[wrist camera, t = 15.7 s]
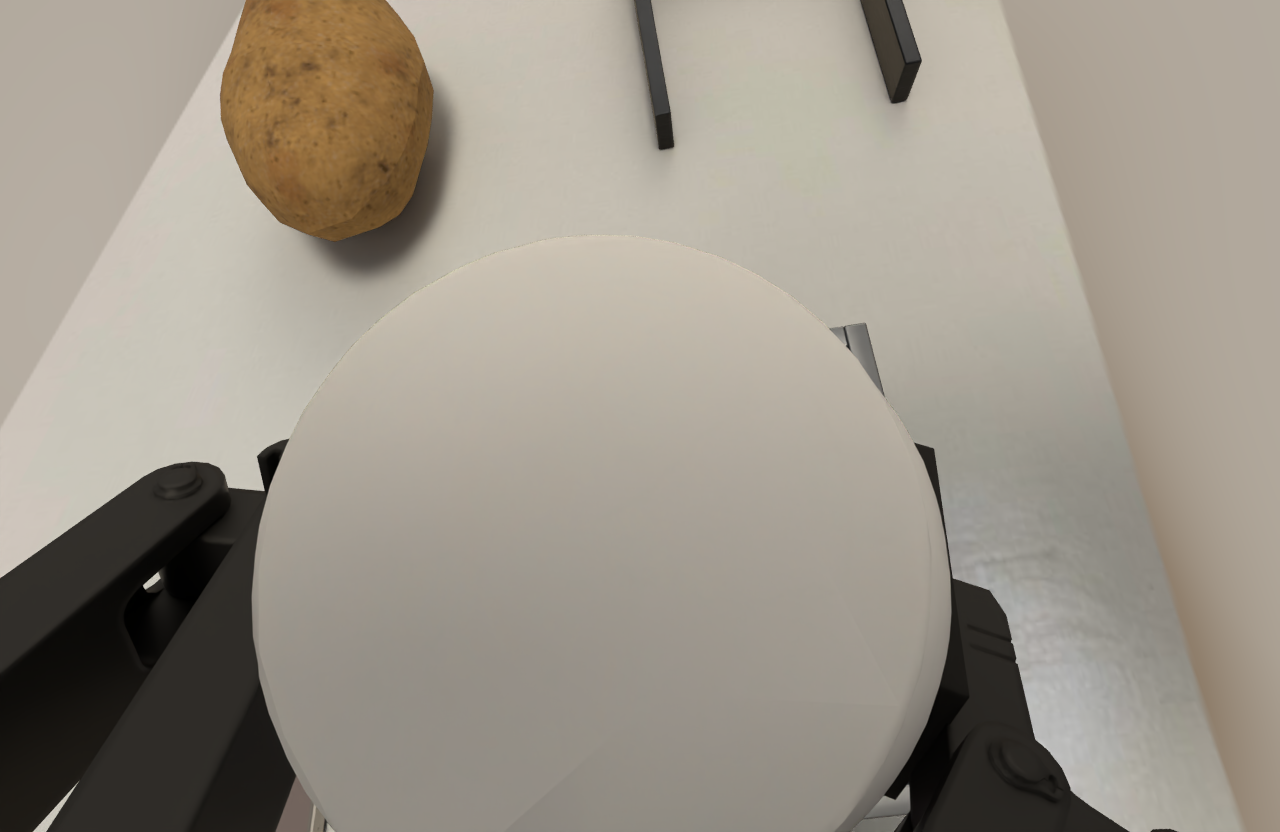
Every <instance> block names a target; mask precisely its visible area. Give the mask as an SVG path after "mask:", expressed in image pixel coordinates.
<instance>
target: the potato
mask: <svg viewBox="0 0 1280 832" xmlns="http://www.w3.org/2000/svg"><path fill="white" fill-rule="evenodd" d="M433 91H434V90H433V87H432V84H431V81H430V78H429V75H428V72H427V69H426V66H425V63H424V60H423V58H422V55H421V53H420V50H419V48H418V45H417V43H416V40H415V38H414V36H413V34H412V33H411V32H410V30H409V29H408V28H407V26H406V25H405V24H404V22H403V21H402V20H401V18H400V17H399V15H398V14H397V13H396V12H395V11H394V10H393V8H392V7H391V6H390V5H389V4H388V2H387V1H386V0H246V2H245V5H244V9H243V12H242V15H241V18H240V22H239V25H238V29H237V33H236V37H235V40H234V44H233V48H232V51H231V54H230V57H229V59H228V62H227V65H226V67H225V70H224V72H223V78H222V85H221V93H220V103H221V121H222V124H223V128H224V131H225V135H226V138H227V141H228V143H229V145H230V147H231V150H232V152H233V154H234V156H235V159H236V161H237V163H238V165H239V168H240V170H241V172H242V175H243V177H244V179H245V181H246V184H247V185H248V186H249V188H250V189H251V190H252V191H253V192H254V194H255V195H256V196H257V197H258V198H259V200H260V201H261V202H262V203H263V204H264V205H265V206H266V208H267V209H268V210H269V211H270V212H271V213H272V214H273V215H274V216H275V218H276V219H277V220H278V221H279V222H280V223H282V224H285V225H287V226H289V227H292V228H294V229H296V230H299V231H301V232H304V233H306V234H308V235H312V236H315V237H319V238H323V239H326V240H330V241H334V242H336V241H339V240H342V239H345V238H348V237H351V236H354V235H357V234H360V233H363V232H366V231H369V230H373V229H376V228H379V227H381V226H382V225H384V224H385V223H387V222H388V221H390V220H392V219H393V218H395V217H396V216H398V215H400V213H401V212H402V210H403V209H404V207H405V206H406V205H407V203H408V202H409V200H410V199H411V197H412V196H413V192H414V189H415V186H416V182H417V179H418V175H419V172H420V169H421V165H422V162H423V158H424V155H425V152H426V148H427V145H428V139H429V132H430V126H431V120H432V107H433Z"/></svg>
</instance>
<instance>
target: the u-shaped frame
mask: <svg viewBox="0 0 1280 832" xmlns="http://www.w3.org/2000/svg"><path fill="white" fill-rule="evenodd" d="M861 2H862V5H863V9H864V12H865V15H866V19H867V22H868V25H869V29H870V32H871V35H872V38H873V42H874V45H875V48H876V52H877V55H878V58H879V62H880V65H881V68H882V71H883V75H884V78H885V81H886V85H887V88H888V91H889V95H890V98H891V101H892V102H898V101H903V100H907V98H908V96H909V93H910V90H911V88H912V85H913V83H914V80H915V77H916V75H917V72H918V70H919V67H920V64H921V62H922V59H921V56H920V53H919V50H918V47H917V44H916V41H915V38H914V35H913V32H912V29H911V26H910V23H909V20H908V17H907V14H906V11H905V7H904V4H903V1H902V0H861ZM634 4H635V10H636V16H637V22H638V27H639V33H640V39H641V45H642V51H643V57H644V63H645V69H646V75H647V80H648V86H649V92H650V98H651V104H652V110H653V116H654V122H655V128H656V134H657V139H658V145H659V149H665V148H670V147H674V140H673V130H672V121H671V112H670V106H669V101H668V95H667V89H666V84H665V78H664V73H663V67H662V62H661V56H660V50H659V45H658V39H657V34H656V28H655V22H654V17H653V11H652V6H651V0H634Z"/></svg>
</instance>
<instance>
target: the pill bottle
mask: <svg viewBox="0 0 1280 832" xmlns="http://www.w3.org/2000/svg"><path fill="white" fill-rule="evenodd" d="M252 623H253V639H254V645H255V650H256V655H257V661H258V669H259V679H260V683H261V686H262V690H263V694H264V697H265V701H266V705H267V709H268V712H269V715H270V718H271V720H272V722H273V725H274V727H275V730H276V732H277V735H278V737H279V739H280V742H281V744H282V747H283V749H284V752H285V754H286V757H287V759H288V761H289V762H290V764H291V766H292V768H293V770H294V772H295V774H296V775H297V777H298V779H299V781H300V783H301V785H302V787H303V789H304V790H305V792H306V794H307V795H308V796H309V798H310V799H311V800H312V802H313V803H314V804H315V806H316V807H317V808H318V810H319V811H320V812H321V814H322V815H323V817H324V818H325V819H326V821H327V822H328V823H329V825H330V826H331V827H332V829H333V830H334V831H335V832H850V831H851V830H852V829H853V828H854V827H855V826H856V825H857V824H858V823H859V822H860V821H861V820H862V819H863V818H864V817H865V816H866V815H867V814H868V813H869V812H870V811H871V810H872V809H873V808H874V806H875V805H876V804H877V803H878V802H879V801H880V800H881V798H882V797H883V796H884V794H885V793H886V791H887V790H888V789H889V787H890V786H891V785H892V783H893V782H894V781H895V779H896V778H897V776H898V774H899V773H900V771H901V770H902V768H903V767H904V765H905V764H906V762H907V761H908V759H909V757H910V756H911V754H912V752H913V750H914V748H915V746H916V744H917V742H918V740H919V738H920V736H921V734H922V732H923V730H924V728H925V726H926V724H927V721H928V718H929V715H930V713H931V710H932V707H933V704H934V701H935V698H936V695H937V692H938V689H939V686H940V682H941V678H942V673H943V669H944V665H945V661H946V656H947V650H948V644H949V638H950V625H951V584H950V570H949V562H948V555H947V548H946V540H945V534H944V529H943V524H942V519H941V514H940V510H939V506H938V503H937V499H936V495H935V492H934V490H933V487H932V484H931V481H930V478H929V475H928V473H927V470H926V467H925V464H924V461H923V459H922V458H921V456H920V454H919V452H918V450H917V448H916V446H915V444H914V442H913V441H912V439H911V437H910V435H909V433H908V431H907V430H906V428H905V426H904V425H903V423H902V421H901V420H900V418H899V417H898V415H897V413H896V412H895V410H894V409H893V408H892V407H891V405H890V404H889V403H888V401H887V400H886V399H885V397H884V396H883V395H882V393H881V392H880V391H879V389H878V388H877V387H876V385H875V384H874V383H873V381H872V380H871V378H870V377H869V376H868V374H867V373H866V371H865V370H864V368H863V367H862V365H861V364H860V362H859V361H858V359H857V358H856V357H855V356H854V354H853V353H852V352H851V351H850V350H849V349H848V348H847V347H846V346H845V345H844V343H843V342H842V341H841V340H840V339H839V338H838V337H837V336H836V335H835V334H834V333H833V332H832V331H831V330H830V329H829V328H828V327H827V326H826V325H825V324H824V323H823V322H822V321H821V320H820V319H818V318H817V317H816V316H815V315H814V314H813V313H811V312H810V311H809V310H808V309H807V308H805V307H804V306H803V305H802V304H801V303H800V302H798V301H797V300H796V299H795V298H794V297H792V296H791V295H789V294H788V293H786V292H785V291H783V290H781V289H780V288H778V287H777V286H775V285H773V284H772V283H770V282H769V281H767V280H765V279H764V278H762V277H761V276H759V275H757V274H756V273H753V272H751V271H749V270H747V269H745V268H743V267H741V266H739V265H737V264H734V263H732V262H730V261H728V260H726V259H724V258H722V257H720V256H716V255H713V254H710V253H707V252H703V251H700V250H697V249H694V248H690V247H687V246H684V245H681V244H677V243H674V242H668V241H662V240H655V239H649V238H643V237H636V236H612V235H581V236H568V237H560V238H551V239H545V240H541V241H537V242H534V243H530V244H526V245H522V246H518V247H515V248H511V249H507V250H503V251H499V252H496V253H493V254H490V255H488V256H485V257H483V258H481V259H478V260H476V261H473V262H471V263H468V264H466V265H464V266H462V267H460V268H458V269H456V270H454V271H452V272H450V273H448V274H447V275H445V276H443V277H441V278H439V279H438V280H436V281H434V282H432V283H430V284H429V285H427V286H425V287H423V288H422V289H420V290H418V291H416V292H414V293H413V294H412V295H410V296H409V297H408V298H407V299H405V300H404V301H403V302H401V303H400V304H399V305H398V306H396V307H395V308H394V309H392V310H391V311H390V312H389V313H387V314H386V315H385V316H383V317H382V318H381V319H379V320H378V321H377V322H376V323H375V324H374V325H373V326H372V327H371V328H370V329H369V330H368V331H367V332H366V333H365V334H364V335H363V336H362V337H361V338H360V339H359V340H358V341H356V342H355V343H354V344H353V345H352V346H351V348H350V349H349V350H348V351H347V352H346V354H345V355H344V356H343V357H342V359H341V360H340V361H339V362H338V363H337V365H336V366H335V367H334V368H333V370H332V371H331V372H330V373H329V375H328V376H327V378H326V379H325V381H324V382H323V383H322V385H321V386H320V388H319V389H318V391H317V392H316V393H315V395H314V396H313V398H312V399H311V401H310V402H309V404H308V405H307V406H306V408H305V409H304V411H303V413H302V415H301V417H300V419H299V421H298V423H297V425H296V427H295V429H294V431H293V433H292V435H291V437H290V439H289V441H288V443H287V445H286V448H285V450H284V452H283V455H282V457H281V460H280V462H279V465H278V467H277V470H276V472H275V474H274V477H273V479H272V482H271V484H270V488H269V491H268V495H267V499H266V503H265V506H264V510H263V514H262V517H261V521H260V525H259V532H258V538H257V545H256V552H255V563H254V575H253V586H252Z"/></svg>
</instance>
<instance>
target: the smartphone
mask: <svg viewBox="0 0 1280 832" xmlns="http://www.w3.org/2000/svg"><path fill="white" fill-rule="evenodd" d="M324 820H325V818H324V817H323V815H322V814H321V812H320V811H319V810H318V808H317V807H316V806H315V804H314V803H313V802H312V800H311V799H310V798H309V796H308V795H307V794H306V792H305V790H304V789H303V787H302V785H301V783H300V781H299V779H298V777H297V775H296V778H295V781H294V783H293V786H292V789H291V791H290V794H289V797H288V799H287V802H286V805H285V808H284V810H283V813H282V816H281V818H280V821H279V824H278V827H277V829H276V832H323V828H324Z"/></svg>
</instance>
